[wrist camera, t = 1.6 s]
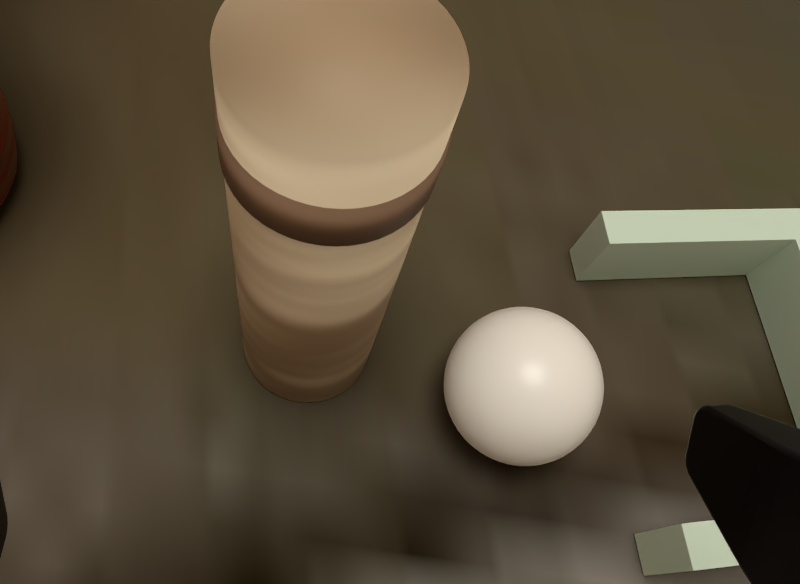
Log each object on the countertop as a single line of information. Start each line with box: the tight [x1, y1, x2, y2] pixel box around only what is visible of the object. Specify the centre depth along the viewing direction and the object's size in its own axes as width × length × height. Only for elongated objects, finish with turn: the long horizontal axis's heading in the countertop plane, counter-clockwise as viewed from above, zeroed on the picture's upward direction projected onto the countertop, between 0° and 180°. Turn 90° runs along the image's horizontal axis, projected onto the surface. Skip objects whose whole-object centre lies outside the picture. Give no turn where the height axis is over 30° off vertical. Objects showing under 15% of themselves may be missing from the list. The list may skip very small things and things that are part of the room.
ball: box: [443, 307, 604, 466], centre depth 21 cm, size 5×5×5 cm
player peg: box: [210, 0, 470, 403], centre depth 17 cm, size 4×4×13 cm
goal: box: [569, 208, 800, 576], centre depth 23 cm, size 11×8×3 cm
